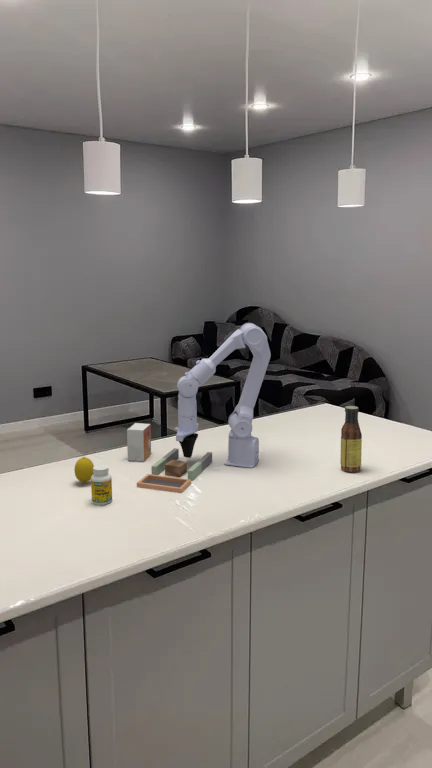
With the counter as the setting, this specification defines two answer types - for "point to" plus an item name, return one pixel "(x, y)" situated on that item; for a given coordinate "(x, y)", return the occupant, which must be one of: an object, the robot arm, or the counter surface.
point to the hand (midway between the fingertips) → (187, 456)
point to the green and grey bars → (174, 455)
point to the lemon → (84, 469)
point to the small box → (139, 442)
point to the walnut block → (175, 468)
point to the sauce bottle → (351, 441)
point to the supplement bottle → (101, 485)
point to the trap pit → (164, 483)
